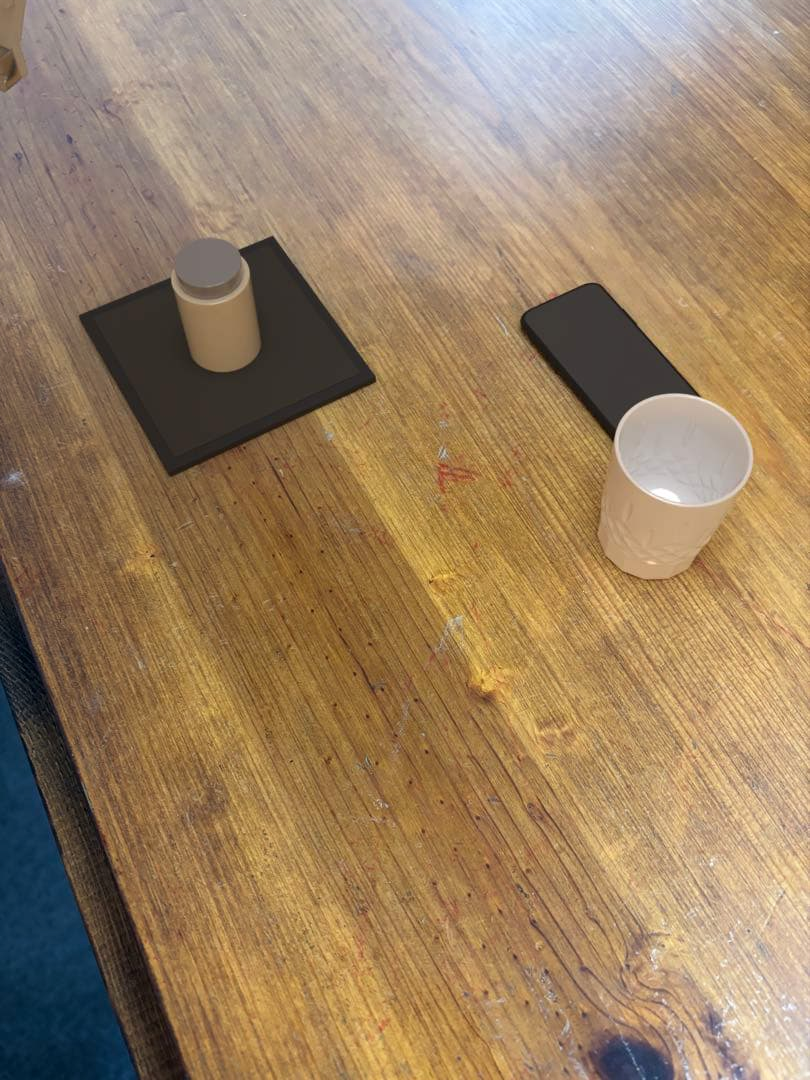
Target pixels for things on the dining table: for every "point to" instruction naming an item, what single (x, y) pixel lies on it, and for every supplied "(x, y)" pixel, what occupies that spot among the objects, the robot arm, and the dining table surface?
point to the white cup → (670, 483)
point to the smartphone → (601, 353)
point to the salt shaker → (216, 305)
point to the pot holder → (226, 397)
